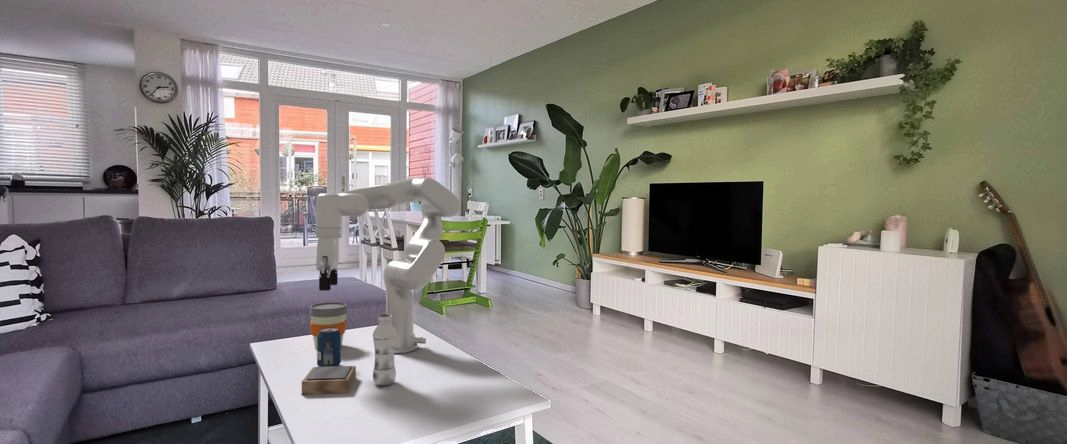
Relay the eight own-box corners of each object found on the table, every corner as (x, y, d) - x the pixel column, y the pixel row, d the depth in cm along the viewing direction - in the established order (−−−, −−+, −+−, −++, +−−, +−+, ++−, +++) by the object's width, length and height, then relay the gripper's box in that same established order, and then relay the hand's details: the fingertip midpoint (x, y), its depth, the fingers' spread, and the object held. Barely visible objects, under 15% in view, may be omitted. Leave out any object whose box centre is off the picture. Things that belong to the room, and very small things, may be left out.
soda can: (333, 361, 168) (333, 325, 167) (344, 366, 163) (345, 329, 163) (312, 367, 162) (312, 329, 162) (324, 372, 158) (324, 333, 157)
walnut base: (355, 377, 153) (355, 364, 153) (347, 393, 142) (347, 378, 141) (313, 379, 152) (313, 365, 151) (301, 394, 140) (301, 380, 140)
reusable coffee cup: (334, 340, 192) (334, 300, 192) (354, 346, 185) (354, 305, 184) (302, 347, 182) (302, 305, 181) (322, 354, 175) (322, 311, 174)
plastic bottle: (400, 381, 151) (401, 314, 150) (386, 389, 145) (387, 319, 144) (381, 378, 153) (382, 312, 152) (367, 386, 147) (368, 317, 146)
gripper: (323, 231, 169) (322, 283, 169) (308, 234, 151) (308, 292, 152) (347, 231, 170) (346, 283, 170) (335, 235, 153) (335, 292, 153)
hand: (328, 287), depth 161 cm, fingers open, 9 cm apart
